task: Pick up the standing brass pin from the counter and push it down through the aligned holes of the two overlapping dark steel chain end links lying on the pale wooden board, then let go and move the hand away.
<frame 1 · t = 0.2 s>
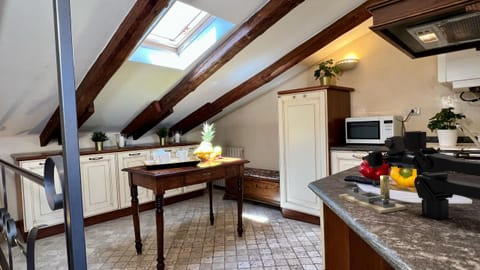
hand: (373, 157, 110), 16 cm above the countertop, tool horizontal, fingers open, 9 cm apart
wooden board: (369, 202, 103), on the countertop
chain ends: (369, 195, 103), on the wooden board, point 3 cm above the countertop
brass pin: (385, 198, 108), on the countertop
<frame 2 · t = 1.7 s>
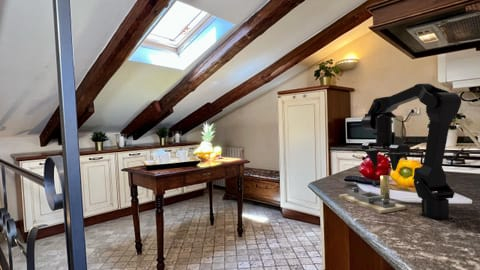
hand: (384, 168, 107), 12 cm above the countertop, tool pointing down, fingers open, 9 cm apart
nothing on the countertop moved.
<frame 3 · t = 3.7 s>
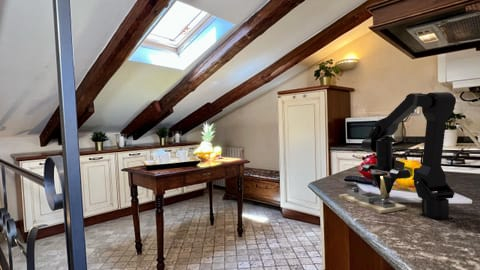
hand: (385, 192, 108), 3 cm above the countertop, tool pointing down, fingers closed on brass pin, 3 cm apart
brass pin: (385, 198, 108), on the countertop, touching gripper
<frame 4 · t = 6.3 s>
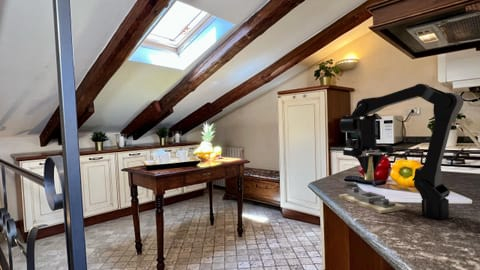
hand: (369, 172, 103), 12 cm above the countertop, tool pointing down, fingers closed on brass pin, 3 cm apart
brass pin: (369, 179, 103), point 9 cm above the countertop, touching gripper
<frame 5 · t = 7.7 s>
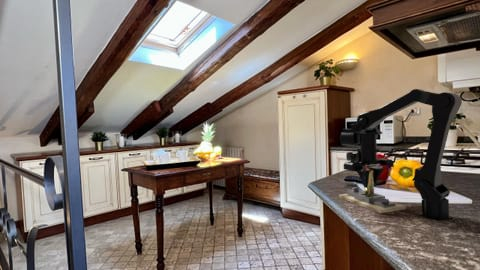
hand: (369, 186, 103), 6 cm above the countertop, tool pointing down, fingers closed on brass pin, 3 cm apart
brass pin: (369, 193, 103), point 4 cm above the countertop, touching gripper
when the fingers open (4 cm above the countertop, at t = 8.9 s): brass pin stays where it is, resting on wooden board.
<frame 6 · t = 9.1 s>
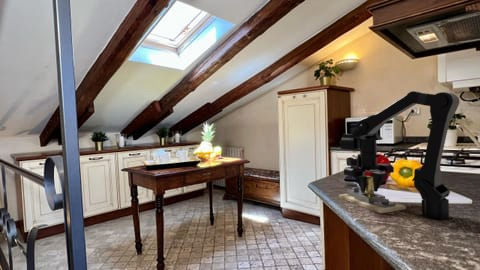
hand: (369, 192, 103), 4 cm above the countertop, tool pointing down, fingers open, 5 cm apart
brass pin: (369, 200, 103), point 1 cm above the countertop, touching wooden board
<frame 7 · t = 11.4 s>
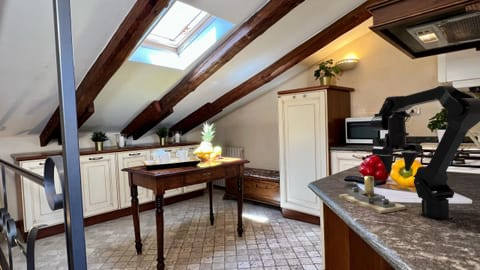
hand: (397, 172, 100), 12 cm above the countertop, tool pointing down, fingers open, 9 cm apart
nothing on the countertop moved.
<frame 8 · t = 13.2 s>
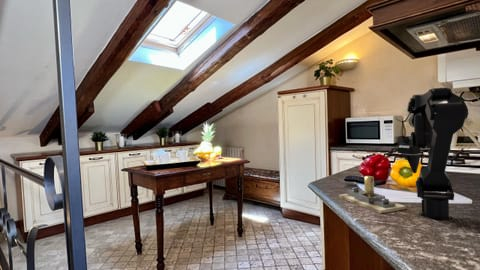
hand: (424, 171, 97), 12 cm above the countertop, tool pointing down, fingers open, 9 cm apart
nothing on the countertop moved.
at the end: brass pin 0.0 cm off-centre on the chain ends, point 1.0 cm above the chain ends's base; brass pin tilted 0°; the gripper is holding nothing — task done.
